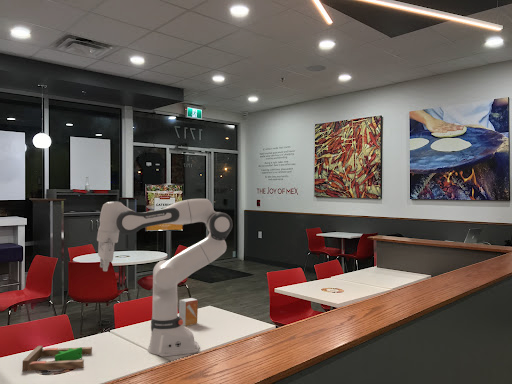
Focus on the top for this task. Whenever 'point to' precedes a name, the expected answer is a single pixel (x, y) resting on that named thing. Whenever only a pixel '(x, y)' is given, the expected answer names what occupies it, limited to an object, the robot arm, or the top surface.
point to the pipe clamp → (69, 354)
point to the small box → (188, 311)
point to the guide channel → (33, 365)
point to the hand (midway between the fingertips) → (103, 269)
